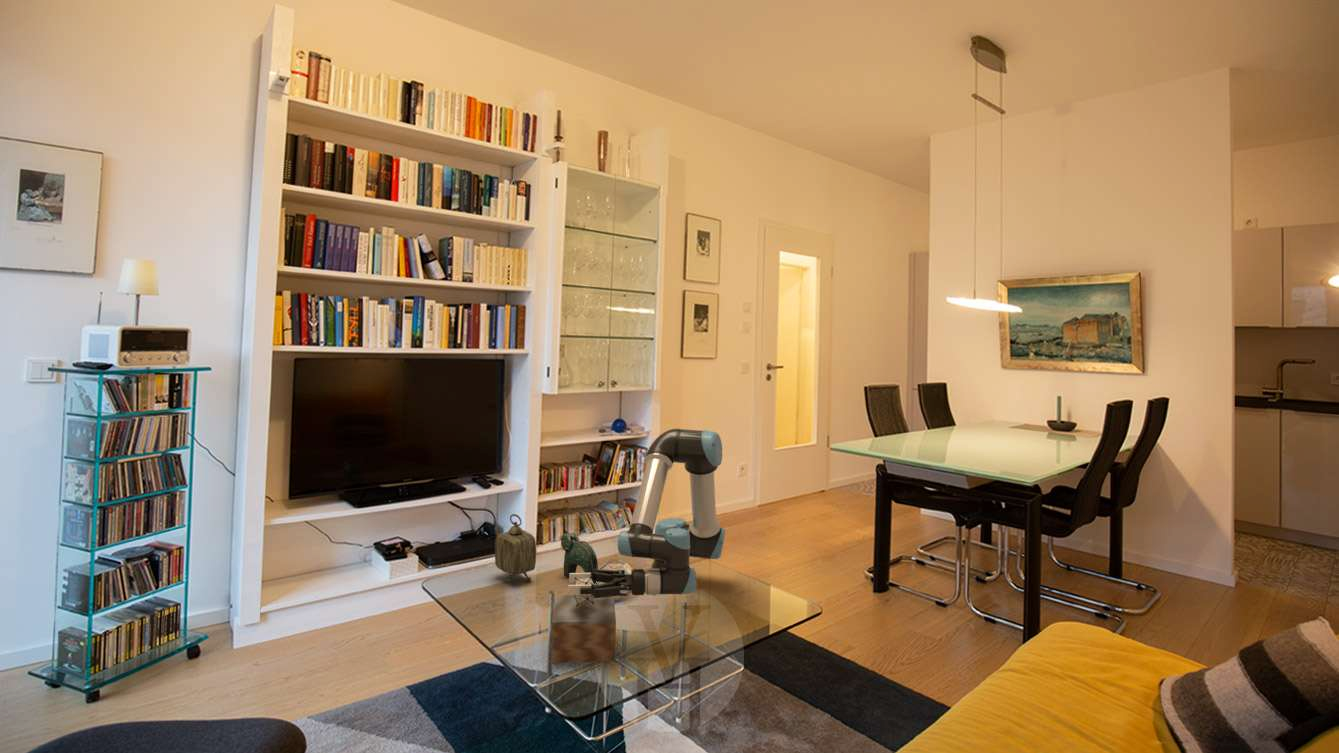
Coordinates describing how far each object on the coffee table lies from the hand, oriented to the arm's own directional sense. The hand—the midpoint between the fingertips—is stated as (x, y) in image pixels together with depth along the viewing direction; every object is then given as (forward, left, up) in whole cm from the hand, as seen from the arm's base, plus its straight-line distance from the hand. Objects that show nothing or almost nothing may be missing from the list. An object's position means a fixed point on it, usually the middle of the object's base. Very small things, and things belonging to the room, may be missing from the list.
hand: (568, 583), depth 190 cm
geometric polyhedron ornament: (-5, +1, -6) cm, 8 cm away
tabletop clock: (+21, -52, -20) cm, 59 cm away
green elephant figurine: (-3, -48, -20) cm, 52 cm away
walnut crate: (-5, 0, -19) cm, 20 cm away
